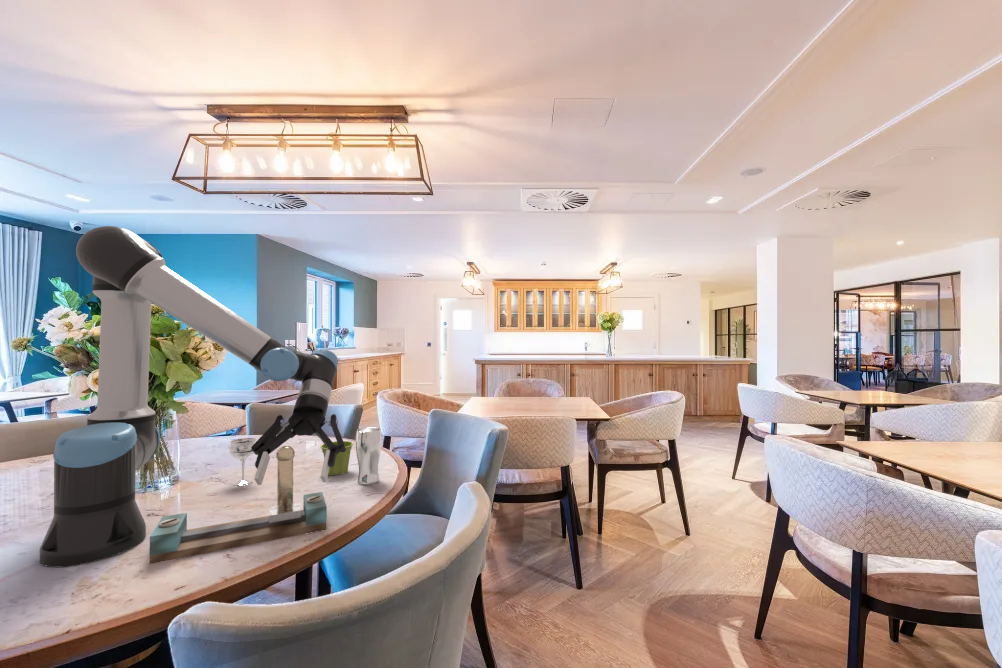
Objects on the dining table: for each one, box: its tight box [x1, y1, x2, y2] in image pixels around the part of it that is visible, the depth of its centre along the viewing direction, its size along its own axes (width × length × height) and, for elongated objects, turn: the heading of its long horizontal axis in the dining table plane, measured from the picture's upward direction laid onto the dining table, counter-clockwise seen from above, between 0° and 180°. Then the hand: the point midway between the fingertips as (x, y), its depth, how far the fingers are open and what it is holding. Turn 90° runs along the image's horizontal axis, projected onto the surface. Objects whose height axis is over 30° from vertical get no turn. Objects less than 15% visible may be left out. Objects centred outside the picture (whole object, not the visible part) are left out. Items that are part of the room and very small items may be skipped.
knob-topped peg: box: [268, 445, 302, 523], centre depth 92 cm, size 6×5×15 cm
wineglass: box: [229, 437, 258, 486], centre depth 122 cm, size 7×7×12 cm
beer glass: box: [355, 426, 382, 486], centre depth 123 cm, size 7×7×15 cm
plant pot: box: [320, 440, 354, 476], centre depth 131 cm, size 9×9×9 cm
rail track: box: [148, 491, 328, 565], centre depth 89 cm, size 30×10×6 cm, turn 118°
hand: (290, 480), depth 93 cm, fingers open, 13 cm apart
